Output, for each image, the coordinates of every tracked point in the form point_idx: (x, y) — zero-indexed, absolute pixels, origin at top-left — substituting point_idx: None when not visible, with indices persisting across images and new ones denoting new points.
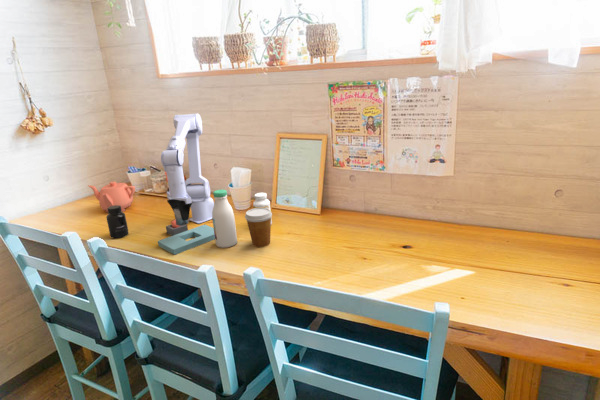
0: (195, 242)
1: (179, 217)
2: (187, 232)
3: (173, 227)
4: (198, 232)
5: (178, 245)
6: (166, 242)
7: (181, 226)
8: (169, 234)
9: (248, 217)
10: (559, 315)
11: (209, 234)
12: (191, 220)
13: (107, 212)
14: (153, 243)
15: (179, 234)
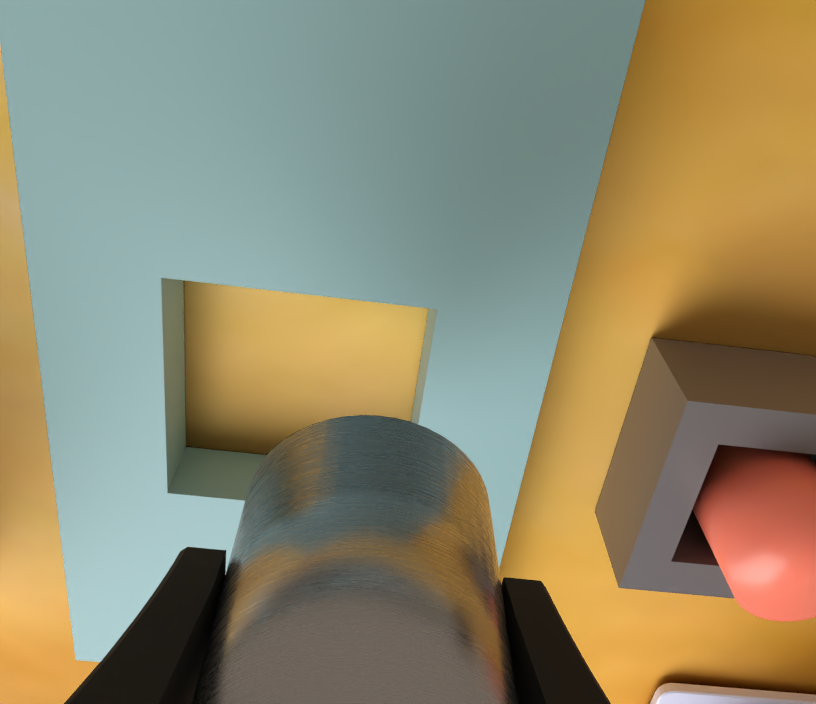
0: (41, 319)
1: (251, 579)
2: None
3: (768, 459)
4: None
5: (104, 85)
6: (425, 52)
7: (657, 527)
8: (793, 354)
9: None
10: None
11: (113, 551)
12: (809, 700)
13: None
14: (803, 11)
15: (504, 369)
